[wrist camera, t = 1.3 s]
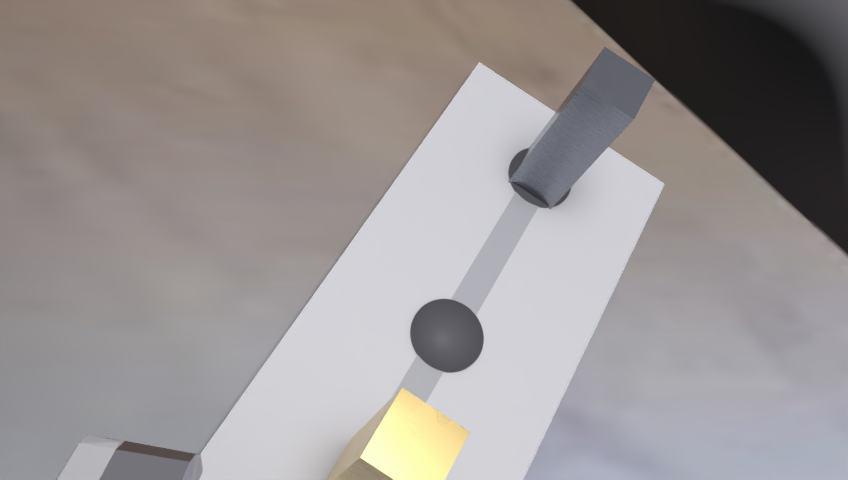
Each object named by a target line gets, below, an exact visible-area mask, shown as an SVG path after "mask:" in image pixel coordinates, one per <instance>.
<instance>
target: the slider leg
mask: <svg viewBox="0 0 848 480" xmlns="http://www.w3.org/2000/svg"><path fill="white" fill-rule="evenodd" d="M469 433H470V431H468V430H466V429H465V428H463V427H462V426H460V425H459V424H457V423H456V422H454V421H453V420H451V419H450V418H448V417H447V416H445V415H444V414H442V413H441V412H439V411H437V410H436V409H434V408H433V407H431V406H430V405H428V404H427V403H425V402H424V401H422V400H421V399H419V398H418V397H416V396H415V395H413V394H412V393H410V392H408V391H407V390H405V389H404V388H401V389H400V390H399V391H398V392H397V393H396V394H395V395H394V396H393V397H392V398H391V399H390V400H389V401H388V402H387V403H386V404H385V405H384V406H383V407H382V408H381V409H380V410H379V411H378V412H377V413H376V414H375V415H374V416H373V417H372V418H371V419H370V420H369V421H368V422H367V423H366V424H365V425H364V426H363V427H362V428H361V429H360V430H359V431H358V432H357V433H356V434H355V435H354V436H353V437H352V438H351V440H350V441H349V443H348V445H347V446H346V448H345V449H344V451H343V453H342V454H341V456H340V458H339V459H338V461H337V462H336V464H335V466H334V467H333V469H332V471H331V472H330V474H329V476H328V477H327V479H326V480H445V478H446V476H447V474H448V472H449V471H450V469H451V467H452V465H453V463H454V461H455V459H456V457H457V456H458V454H459V452H460V450H461V448H462V446H463V444H464V442H465V441H466V439H467V437H468V435H469Z"/></svg>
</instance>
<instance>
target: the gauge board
mask: <svg viewBox="0 0 848 480" xmlns="http://www.w3.org/2000/svg"><path fill="white" fill-rule="evenodd" d="M555 113H556V112H554V111H553V110H551V109H550V108H548V107H547V106H545V105H544V104H542V103H541V102H539V101H537V100H536V99H534V98H533V97H531V96H530V95H528V94H527V93H525V92H524V91H522V90H521V89H519V88H518V87H516V86H515V85H513V84H512V83H510V82H509V81H507V80H505V79H504V78H502V77H501V76H499V75H498V74H496V73H495V72H493V71H492V70H490V69H489V68H487V67H486V66H484V65H483V64H481V63H480V62H479V63H478V65H477V66H476V68H475V69H474V70H473V72H472V73H471V75H470V76H469V77H468V79H467V80H466V82H465V83H464V84H463V86H462V87H461V89H460V90H459V91H458V93H457V94H456V96H455V97H454V98H453V100H452V101H451V103H450V104H449V106H448V107H447V108H446V110H445V111H444V113H443V114H442V115H441V117H440V118H439V120H438V121H437V122H436V124H435V125H434V127H433V128H432V129H431V131H430V132H429V134H428V135H427V136H426V138H425V139H424V141H423V142H422V143H421V145H420V146H419V148H418V149H417V150H416V152H415V153H414V155H413V156H412V157H411V159H410V160H409V162H408V163H407V164H406V166H405V167H404V169H403V170H402V171H401V173H400V174H399V176H398V177H397V178H396V180H395V181H394V183H393V184H392V185H391V187H390V188H389V190H388V191H387V193H386V194H385V195H384V197H383V198H382V200H381V201H380V202H379V204H378V205H377V207H376V208H375V209H374V211H373V212H372V214H371V215H370V216H369V218H368V219H367V221H366V222H365V223H364V225H363V226H362V228H361V229H360V230H359V232H358V233H357V235H356V236H355V237H354V239H353V240H352V242H351V243H350V244H349V246H348V247H347V249H346V250H345V251H344V253H343V254H342V256H341V257H340V258H339V260H338V261H337V263H336V264H335V265H334V267H333V268H332V270H331V271H330V273H329V274H328V275H327V277H326V278H325V280H324V281H323V282H322V284H321V285H320V287H319V288H318V289H317V291H316V292H315V294H314V295H313V296H312V298H311V299H310V301H309V302H308V303H307V305H306V306H305V308H304V309H303V310H302V312H301V313H300V315H299V316H298V317H297V319H296V320H295V322H294V323H293V324H292V326H291V327H290V329H289V330H288V331H287V333H286V334H285V336H284V337H283V338H282V340H281V341H280V343H279V344H278V345H277V347H276V348H275V350H274V351H273V352H272V354H271V355H270V357H269V358H268V360H267V361H266V362H265V364H264V365H263V367H262V368H261V369H260V371H259V372H258V374H257V375H256V376H255V378H254V379H253V381H252V382H251V383H250V385H249V386H248V388H247V389H246V390H245V392H244V393H243V395H242V396H241V397H240V399H239V400H238V402H237V403H236V404H235V406H234V407H233V409H232V410H231V411H230V413H229V414H228V416H227V417H226V418H225V420H224V421H223V423H222V424H221V425H220V427H219V428H218V430H217V431H216V432H215V434H214V435H213V437H212V438H211V439H210V441H209V442H208V444H207V445H206V447H205V448H204V449H203V451H202V452H201V454H200V455H201V461H202V468H203V472H202V474H201V477H200V479H199V480H326V479H327V477H328V476H329V474H330V472H331V471H332V469H333V467H334V466H335V464H336V462H337V461H338V459H339V458H340V456H341V454H342V453H343V451H344V449H345V448H346V446H347V445H348V443H349V441H350V440H351V438H352V437H353V436H354V435H355V434H356V433H357V432H358V431H359V430H360V429H361V428H362V427H363V426H364V425H365V424H366V423H367V422H368V421H369V420H370V419H371V418H372V417H373V416H374V415H375V414H376V413H377V412H378V411H379V410H380V409H381V408H382V407H383V406H384V405H385V404H386V403H387V402H388V401H389V400H390V399H391V398H392V397H393V396H394V395H395V394H396V393H397V392H398V391H399V390H400V389H401V388H404V389H405V390H407V391H408V392H410V393H412V394H413V395H415V396H416V397H418V398H419V399H421V400H422V401H424V402H425V403H427V404H428V405H430V406H431V407H433V408H434V409H436V410H437V411H439V412H441V413H442V414H444V415H445V416H447V417H448V418H450V419H451V420H453V421H454V422H456V423H457V424H459V425H460V426H462V427H463V428H465V429H466V430H468V431H470V433H469V435H468V437H467V439H466V441H465V442H464V444H463V446H462V448H461V450H460V452H459V454H458V456H457V457H456V459H455V461H454V463H453V465H452V467H451V469H450V471H449V472H448V474H447V476H446V478H445V480H523V479H524V477H525V475H526V473H527V471H528V468H529V466H530V464H531V462H532V460H533V458H534V456H535V454H536V452H537V450H538V448H539V445H540V443H541V441H542V439H543V437H544V435H545V433H546V431H547V429H548V427H549V425H550V422H551V420H552V418H553V416H554V414H555V412H556V410H557V408H558V406H559V404H560V402H561V399H562V397H563V395H564V393H565V391H566V389H567V387H568V385H569V383H570V381H571V379H572V376H573V374H574V372H575V370H576V368H577V366H578V364H579V362H580V360H581V358H582V356H583V353H584V351H585V349H586V347H587V345H588V343H589V341H590V339H591V337H592V335H593V333H594V331H595V328H596V326H597V324H598V322H599V320H600V318H601V316H602V314H603V312H604V310H605V308H606V305H607V303H608V301H609V299H610V297H611V295H612V293H613V291H614V289H615V287H616V285H617V282H618V280H619V278H620V276H621V274H622V272H623V270H624V268H625V266H626V264H627V262H628V259H629V257H630V255H631V253H632V251H633V249H634V247H635V245H636V243H637V241H638V239H639V236H640V234H641V232H642V230H643V228H644V226H645V224H646V222H647V220H648V218H649V216H650V213H651V211H652V209H653V207H654V205H655V203H656V201H657V199H658V197H659V195H660V193H661V190H662V188H663V186H664V183H662V182H661V181H659V180H658V179H656V178H655V177H653V176H652V175H650V174H649V173H647V172H646V171H644V170H643V169H641V168H640V167H638V166H637V165H635V164H633V163H632V162H630V161H629V160H627V159H626V158H624V157H623V156H621V155H620V154H618V153H617V152H615V151H614V150H612V149H611V148H609V147H608V148H607V149H606V150H605V151H604V152H603V153H602V154H601V155H600V156H599V157H598V159H597V160H596V161H595V162H594V163H593V164H592V165H591V166H590V167H589V168H588V169H587V170H586V172H585V173H584V174H583V175H582V176H581V177H580V178H579V179H578V180H577V181H576V182H575V183H574V185H573V186H572V187H571V188H570V189H569V190H568V191H567V192H566V193H565V194H564V195H563V196H562V198H561V199H560V200H559V201H558V202H557V203H556V204H555V205H554V206H553V207H552V208H551V209H549V208H548V207H549V206H548V205H546V204H545V203H543V202H542V201H540V200H539V199H537V198H536V197H534V196H532V195H531V194H529V193H528V192H526V191H525V190H523V189H522V188H520V187H519V186H517V185H516V184H514V183H513V182H511V183H509V182H508V181H509V179H510V178H511V177H512V175H513V173H514V172H515V170H516V168H517V167H518V165H519V164H520V162H521V160H522V159H523V157H524V155H525V154H526V152H527V150H528V149H529V147H530V146H531V144H532V143H533V142H534V140H535V139H536V138H537V136H538V135H539V134H540V132H541V131H542V130H543V128H544V127H545V126H546V124H547V123H548V122H549V121H550V119H551V118H552V117H553V115H554V114H555Z"/></svg>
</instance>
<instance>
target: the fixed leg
mask: <svg viewBox="0 0 848 480" xmlns="http://www.w3.org/2000/svg"><path fill="white" fill-rule="evenodd" d="M654 81H655V79H653V78H651V77H650V76H648V75H647V74H645V73H644V72H642V71H641V70H639V69H638V68H636V67H635V66H633V65H632V64H630V63H629V62H627V61H626V60H624V59H623V58H621V57H619V56H618V55H616V54H615V53H613V52H612V51H610V50H609V49H607V48H606V47H605V48H604V49H603V50H602V52H601V53H600V54H599V56H598V57H597V58H596V60H595V61H594V62H593V64H592V65H591V66H590V68H589V69H588V70H587V72H586V73H585V74H584V75H583V77H582V78H581V79H580V81H579V82H578V83H577V85H576V86H575V87H574V89H573V90H572V91H571V93H570V94H569V95H568V97H567V98H566V99H565V101H564V102H563V103H562V105H561V106H560V107H559V109H558V110H557V111H556V113H555V114H554V115H553V117H552V118H551V119H550V121H549V122H548V123H547V124H546V126H545V127H544V128H543V130H542V131H541V132H540V134H539V135H538V136H537V138H536V139H535V140H534V142H533V143H532V144H531V146H530V147H529V149H528V150H527V152H526V154H525V155H524V157H523V159H522V160H521V162H520V164H519V165H518V167H517V168H516V170H515V172H514V173H513V175H512V177H511V178H510V179H509V181H508V182H509V183H511V182H513V183H514V184H516V185H517V186H519V187H520V188H522V189H523V190H525V191H526V192H528V193H529V194H531V195H532V196H534V197H536V198H537V199H539V200H540V201H542V202H543V203H545V204H546V205H548V206H549V207H548V208H549V209H551V208H552V207H553V206H554V205H555V204H556V203H557V202H558V201H559V200H560V199H561V198H562V196H563V195H564V194H565V193H566V192H567V191H568V190H569V189H570V188H571V187H572V186H573V185H574V183H575V182H576V181H577V180H578V179H579V178H580V177H581V176H582V175H583V174H584V173H585V172H586V170H587V169H588V168H589V167H590V166H591V165H592V164H593V163H594V162H595V161H596V160H597V159H598V157H599V156H600V155H601V154H602V153H603V152H604V151H605V150H606V149H607V148H608V147H609V146H610V145H611V143H612V142H613V141H614V140H615V139H616V138H617V137H618V136H619V135H620V134H621V133H622V132H623V130H624V129H625V128H626V127H627V126H628V125H629V124H630V123H631V122H632V121H633V120H634V118H635V116H636V114H637V112H638V111H639V109H640V107H641V105H642V103H643V101H644V99H645V97H646V96H647V94H648V92H649V90H650V88H651V86H652V84H653V83H654Z"/></svg>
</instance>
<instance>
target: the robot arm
mask: <svg viewBox="0 0 848 480" xmlns="http://www.w3.org/2000/svg"><path fill="white" fill-rule="evenodd" d="M202 472H203V468H202V461H201V455H200V454H194V453H188V452H183V451H177V450H172V449H166V448H161V447H155V446H150V445H144V444H139V443H133V442H128V441H123V440H117V439H110V438H104V437H98V436H92V435H87V436H86V437H85V438H84V439H83V440H82V441H80V442H79V443H78V444H77V445H76V447H75V449H74V450H73V452H72V454H71V455H70V457H69V459H68V460H67V462H66V464H65V465H64V467H63V469H62V470H61V472H60V474H59V475H58V477H57V479H56V480H199V479H200V477H201V474H202Z"/></svg>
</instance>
